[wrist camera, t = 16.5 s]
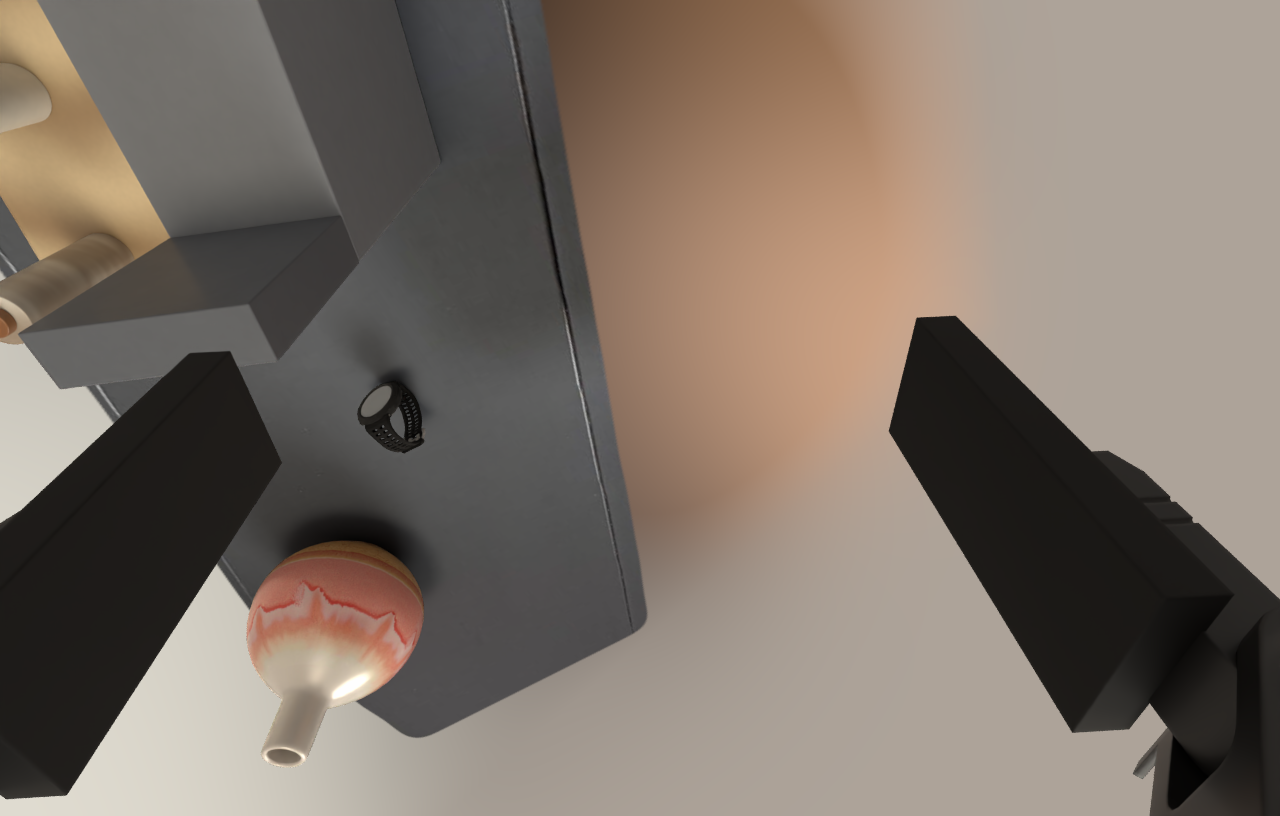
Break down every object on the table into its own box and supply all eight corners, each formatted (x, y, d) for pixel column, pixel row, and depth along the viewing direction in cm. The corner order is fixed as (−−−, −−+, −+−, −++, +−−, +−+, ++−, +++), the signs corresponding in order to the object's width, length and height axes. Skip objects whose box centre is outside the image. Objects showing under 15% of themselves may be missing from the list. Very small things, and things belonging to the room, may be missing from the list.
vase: (458, 597, 63) (414, 787, 48) (329, 621, 64) (248, 813, 49) (398, 498, 55) (325, 689, 40) (252, 528, 56) (130, 723, 42)
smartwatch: (417, 367, 47) (399, 406, 43) (436, 422, 50) (421, 463, 46) (362, 373, 48) (339, 412, 43) (385, 428, 50) (366, 469, 46)
